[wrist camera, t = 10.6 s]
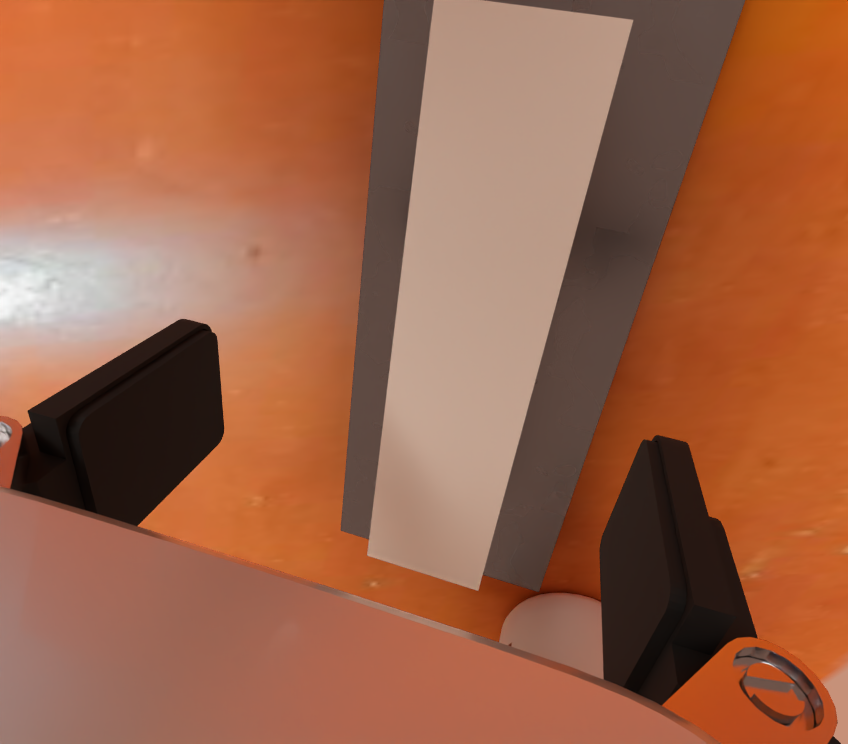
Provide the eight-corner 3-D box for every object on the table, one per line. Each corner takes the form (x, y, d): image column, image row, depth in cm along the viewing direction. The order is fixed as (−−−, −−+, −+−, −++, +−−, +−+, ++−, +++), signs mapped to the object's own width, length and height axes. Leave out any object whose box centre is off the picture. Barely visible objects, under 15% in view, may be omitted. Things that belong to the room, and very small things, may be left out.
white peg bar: (487, 30, 19) (434, -6, 12) (616, 48, 18) (633, 19, 11) (419, 447, 27) (367, 555, 21) (504, 471, 27) (478, 590, 20)
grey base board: (426, -129, 17) (398, -169, 15) (759, -100, 16) (794, -139, 13) (362, 492, 30) (340, 530, 27) (543, 546, 28) (538, 591, 25)
